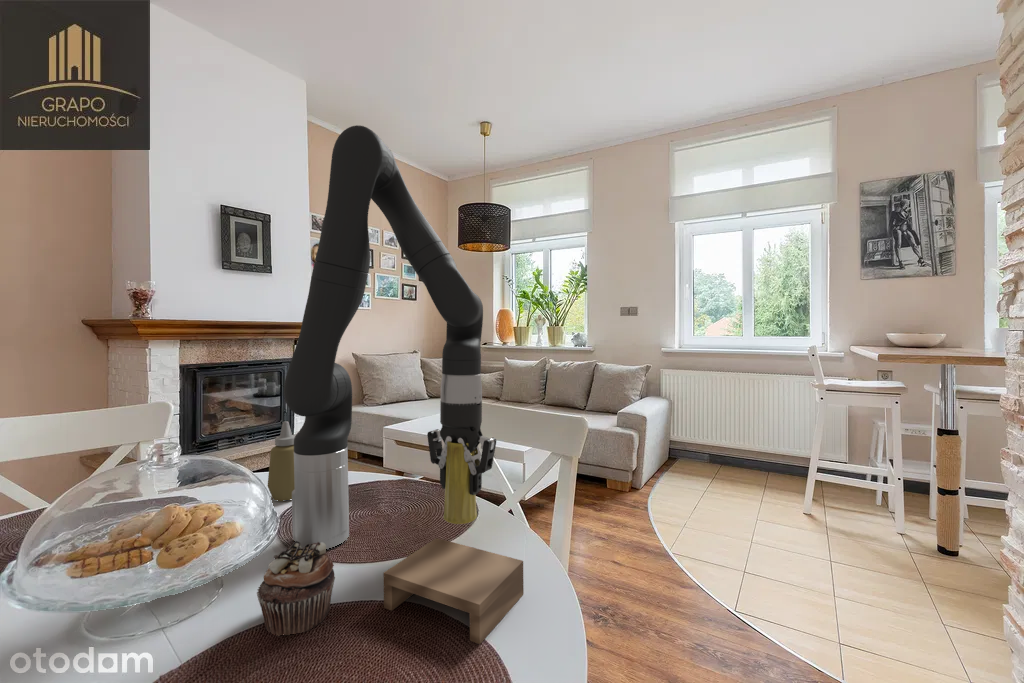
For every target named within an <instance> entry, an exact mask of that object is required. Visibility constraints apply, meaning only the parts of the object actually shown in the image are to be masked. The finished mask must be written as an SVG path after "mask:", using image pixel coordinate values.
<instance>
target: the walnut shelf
mask: <svg viewBox="0 0 1024 683" xmlns="http://www.w3.org/2000/svg"><path fill="white" fill-rule="evenodd" d="M382 575H383V608H384V609H386V610H389V611H391V612H393V611H394V610H395V609H396V608H398V607H399V606H400V605H401V604H403V603H404V602H405V601H407V600H408V599H409V598H411V596H413V595H416V596H419V597H422V598H425V599H427V600H431V601H434V602H436V603H440V604H443V605H444V606H445V605H446V606H448V607H450V608H454V609H455V610H459V611H461V612H465V613H468V614H469V641H470V642H472V643H475V644H477V645H481V644H482V643H483V641H484V640H486V638H487V637H488V636H489V635H490V633H492V631H493V630H494V629H495V628H496V627H497V625H498V624H499V623H500V622H501V621H502V620H503V618H504V617H505V616H506V615H507V614H508V613H509V612H510V611H511V609H512V608H513V607H514V606H515V605H516V603H517V602H519V600H520V599H521V598H522V597H523V596H524V589H525V588H524V561H523V559H518V558H514V557H510V556H507V555H502V554H499V553H495V552H491V551H487V550H483V549H479V548H476V547H471V546H468V545H465V544H461V543H458V542H453V541H449V540H447V539H441V538H437V537H436V538H434V539H433V540H431V541H430V542H428V543H426V544H425V545H423V546H422V547H420V548H419V549H418V550H415V552H413V553H411V554H410V555H408V556H407V557H405V558H404V559H402V560H400V561H399V562H397V564H394V565H393V566H392V567H390V568H388V569H387V570H385V571H384V572H383V574H382Z"/></svg>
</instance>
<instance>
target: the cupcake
mask: <svg viewBox="0 0 1024 683" xmlns="http://www.w3.org/2000/svg"><path fill="white" fill-rule="evenodd" d="M267 566H268V568H267V569H266V571H265V573H264V575H263V581H262V582H261V583H260V585H259V587H258V589H257V592H256V595H257V601H258V602H259V603H258V604H259V605H260V608H261V615H262V617H263V622H264V627H265V630H266V631H268V632H271V633H272V634H276V635H275V636H277V635H278V636H277V637H281V636H280V635H283V634H284V635H283V636H291V635H290V634H296V633H300V634H301V633H302V632H303V633H305V631H306V632H309V631H310V630H312V628H313V629H314V628H315V627H317V626H318V625H319V624H322V623H323V622H324V621H325V619H326V617H327V615H328V614H329V612H330V607H331V602H332V601H331V600H332V595H333V594H332V593H333V588H334V585H335V584H334V583H335V579H336V577H335V570H334V567H335V565H334V562H333V560H332V558H330V556H329V554H328V553H327V550H326V545H325V543H323V542H321V543H319V542H317V543H313V544H307V545H306V546H305V547H301V546H300V542H297V541H295V542H293V543H292V544H291V546H289V547H287V548H286V549H285V550H282V551H281V552H280V553H279V554H275V555H273V560H272V561H271V562H270V563H269V564H268V565H267ZM322 621H323V622H322ZM268 632H267V633H268ZM271 633H270V634H271ZM272 634H271V635H272ZM296 635H297V634H296Z"/></svg>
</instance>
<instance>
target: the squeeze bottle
mask: <svg viewBox="0 0 1024 683" xmlns="http://www.w3.org/2000/svg"><path fill="white" fill-rule="evenodd" d="M281 424H282V425H281V429H280V435H279V436H277V437H275V438H274V447H272V448H271V449H270V455H269V465H268V466H269V467H268V475H267V476H268V477H267V487H268V490H269V492H270V495H271V498H272V500H273V499H274V500H278V501H277V502H284V501H283V500H290V499H292V491H293V490H295V481H294V438H295V436H296V434H295V435H293V433H292V430H291V425H290V423H289V421H286V420H285V421H282V423H281ZM274 500H273V501H274ZM290 501H291V500H290Z"/></svg>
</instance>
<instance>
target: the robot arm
mask: <svg viewBox="0 0 1024 683" xmlns="http://www.w3.org/2000/svg"><path fill="white" fill-rule="evenodd" d="M329 171H330V172H329V181H328V182H329V184H328V191H327V192H328V193H327V200H326V207H325V213H324V216H323V220H322V226H321V230H320V231H321V232H320V237H319V242H318V247H317V251H316V255H315V258H314V263H313V268H312V272H311V277H310V283H309V290H308V294H307V295H308V296H307V299H306V304H305V307H304V308H305V309H304V313H303V315H302V316H303V317H302V323H301V327H300V330H299V335H298V339H297V342H296V344H295V348H294V351H293V354H292V357H291V361H290V363H289V367H288V369H287V372H286V376H285V380H284V385H283V397H284V401H285V403H286V405H287V407H288V408H289V410H291V412H292V413H293V414H295V415H298V416H300V417H305V418H304V422H303V424H302V427H301V428H300V429H299V431H298V432H297V433H296V434H295V438H294V481H295V490H293V491H292V500H291V517H292V518H291V519H292V520H291V521H292V522H291V523H292V541H293V540H294V541H297V542H300V546H301V547H305V546H306V545H307V544H313V543H317V542H319V543H321V542H323V543H325V545H326V549H327V550H330V549H329V548H331V549H333V548H332V547H334V548H336V547H335V546H337V545H339V544H341V543H342V544H344V543H345V542H346V541H348V539H349V538H348V537H350V517H349V516H350V507H349V506H350V505H349V504H350V501H349V499H350V498H349V496H350V495H349V460H348V458H349V456H348V452H349V451H348V450H349V449H348V445H349V444H348V439H349V436H350V433H351V429H352V425H353V423H352V422H353V421H352V420H353V415H352V414H353V385H352V379H351V376H350V375H349V372H348V371H347V369H346V368H345V367H344V366H342V365H341V364H339V363H337V362H336V358H337V354H338V349H339V346H340V343H341V340H342V338H343V335H344V334H345V332H346V329H347V328H348V326H349V325H350V323H351V322H352V320H353V318H354V316H355V315H356V313H357V312H358V309H359V308H360V305H361V304H362V301H363V298H364V295H365V290H366V286H367V282H368V281H367V280H368V276H369V272H370V266H371V265H370V264H371V251H370V250H371V248H370V247H371V246H370V237H369V236H370V235H369V211H370V210H369V209H370V203H371V201H373V202H374V203H375V205H376V206H377V207H378V208H379V210H380V211H381V213H382V214H383V215H384V217H385V218H386V220H387V221H388V223H389V225H390V227H391V230H392V232H393V235H394V236H395V238H396V242H397V244H398V245H399V247H400V249H401V251H402V253H403V254H404V256H405V259H406V260H407V261H408V263H409V264H410V266H411V268H412V270H414V272H415V274H416V275H417V276H418V278H419V279H420V281H421V282H422V283H423V284H424V286H425V288H426V291H427V293H428V294H429V297H430V299H431V300H432V302H433V305H435V308H436V310H437V311H438V313H439V314H440V316H441V318H442V319H443V320H444V321H445V322H446V332H445V333H446V336H445V337H446V339H445V340H446V341H445V343H444V345H443V349H442V352H441V353H442V356H441V357H442V358H441V362H442V363H441V373H442V374H441V382H440V402H439V403H440V404H439V405H440V409H439V410H440V412H439V413H440V414H439V416H440V418H439V419H440V424H441V428H440V429H438V428H437V429H433V430H430V431H427V433H426V434H427V441H428V450H429V457H430V458H429V459H430V462H431V464H433V465H434V464H435V465H437V466H438V468H439V484H440V485H441V489H444V490H445V482H446V459H447V441H448V442H451V443H459V444H463V447H464V450H465V451H464V459H465V462H466V463H468V465H469V468H470V471H471V474H470V495H475V494H476V495H477V494H478V493H480V491H481V490H482V488H483V487H482V484H483V480H482V478H483V477H482V476H483V474H484V473H486V472H488V471H491V469H493V462H494V457H495V454H496V453H495V451H496V445H497V439H496V437H487V436H484V435H483V433H482V429H481V426H482V421H483V420H482V419H483V382H482V352H481V351H482V350H481V341H482V335H483V324H484V323H483V322H484V306H483V303H482V299H481V297H480V296H478V294H476V293H475V292H474V291H473V290H472V287H470V285H469V283H467V281H466V279H465V278H464V276H463V275H462V274H461V272H460V271H459V269H458V267H457V264H456V262H455V260H454V258H453V256H452V254H451V253H450V251H449V250H448V248H447V247H446V246H445V244H444V243H443V241H442V239H441V238H440V236H439V235H438V233H437V232H436V231H435V229H434V227H433V226H432V225H431V224H430V222H429V221H428V220H427V218H426V216H425V215H424V214H423V213H422V210H421V209H420V208H419V206H418V204H417V203H416V201H415V200H414V198H413V196H412V193H411V192H410V191H409V189H408V186H407V185H406V182H405V180H404V178H403V176H402V173H401V171H400V168H399V166H398V164H397V161H396V158H395V156H394V154H393V152H392V151H391V149H390V148H389V146H388V145H387V144H386V143H385V142H384V141H383V140H382V138H381V137H380V135H378V134H376V132H374V131H373V130H371V129H370V128H369V127H366V126H364V125H358V124H357V125H352V126H349V127H347V128H346V129H344V130H343V131H342V132H341V133H340V134H339V135H338V137H337V139H336V140H335V143H334V144H333V149H332V154H331V163H330V170H329ZM442 441H443V442H442ZM443 443H444V445H443ZM466 443H468V445H467V444H466ZM479 444H480V449H481V450H480V449H479ZM473 451H475V454H474V456H471V454H470V453H471V452H473ZM347 538H348V539H347ZM345 540H346V541H345ZM344 541H345V542H344ZM343 542H344V543H343ZM342 544H341V545H342ZM339 546H340V545H339ZM337 547H338V546H337Z"/></svg>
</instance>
